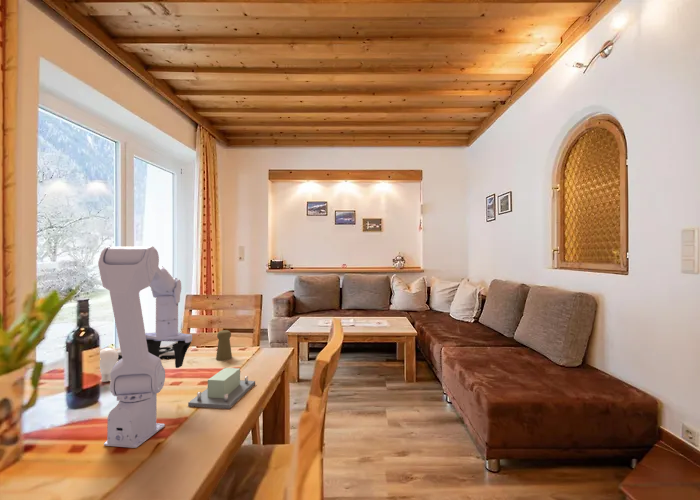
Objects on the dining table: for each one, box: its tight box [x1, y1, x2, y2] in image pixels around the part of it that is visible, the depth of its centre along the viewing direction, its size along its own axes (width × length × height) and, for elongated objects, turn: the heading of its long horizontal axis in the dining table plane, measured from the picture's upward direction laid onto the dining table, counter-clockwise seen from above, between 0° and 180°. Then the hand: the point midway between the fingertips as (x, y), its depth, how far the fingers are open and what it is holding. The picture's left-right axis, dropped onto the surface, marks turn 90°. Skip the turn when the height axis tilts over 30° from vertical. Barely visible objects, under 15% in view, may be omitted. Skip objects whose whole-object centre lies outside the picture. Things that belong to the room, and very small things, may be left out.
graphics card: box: [116, 346, 175, 361], centre depth 135 cm, size 10×3×25 cm
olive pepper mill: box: [215, 329, 233, 362], centre depth 133 cm, size 6×6×11 cm
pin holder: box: [187, 375, 256, 410], centre depth 99 cm, size 17×12×3 cm
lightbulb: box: [99, 347, 119, 383], centre depth 108 cm, size 6×6×11 cm
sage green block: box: [207, 367, 241, 398], centre depth 99 cm, size 10×5×5 cm, turn 173°
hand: (166, 366), depth 96 cm, fingers open, 7 cm apart
